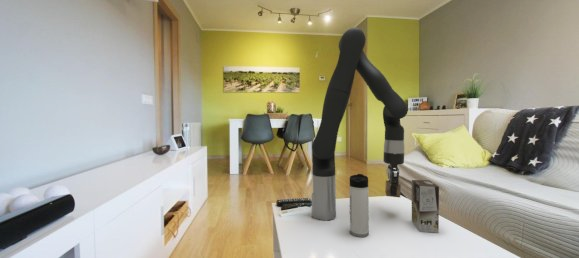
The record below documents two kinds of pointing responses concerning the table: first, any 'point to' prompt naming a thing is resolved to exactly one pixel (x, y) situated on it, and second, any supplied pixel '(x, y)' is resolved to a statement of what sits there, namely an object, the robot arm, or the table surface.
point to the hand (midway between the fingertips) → (392, 193)
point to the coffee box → (425, 205)
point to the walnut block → (388, 187)
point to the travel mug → (359, 205)
